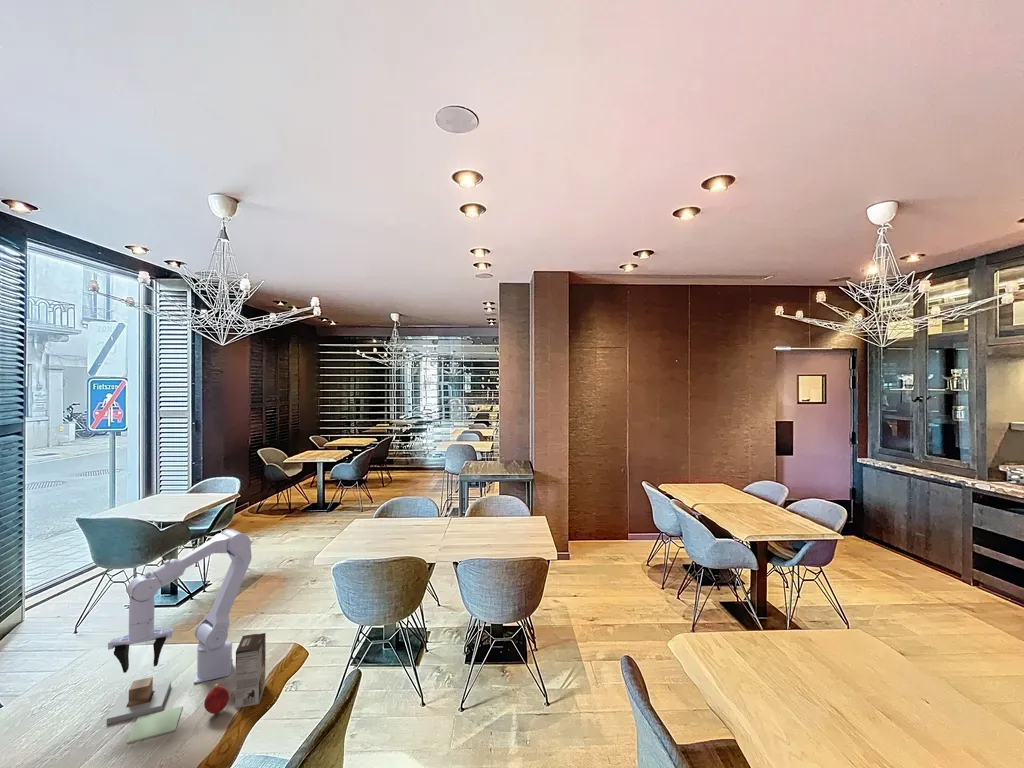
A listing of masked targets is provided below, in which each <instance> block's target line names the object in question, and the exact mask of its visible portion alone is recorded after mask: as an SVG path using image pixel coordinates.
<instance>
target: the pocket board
mask: <svg viewBox="0 0 1024 768" xmlns="http://www.w3.org/2000/svg"><path fill="white" fill-rule="evenodd" d="M171 686H172V681H166V682H162V683H157V684H153V695H152V699H151V701H150V702H148V703H143V704H139V705H135V706H131V707H128V706H129V690H127V691H121V692H120V693H119V695H118V697H117V699H116V701H115V702H114V705H113V707H112V708H111V710H110V712H109V714H108V715H107V717H106V725H110V724H113V723H118V722H122V721H126V720H131V719H134V718H138V717H141V716H145V715H149V714H153V713H157V712H161V711H163V708H164V706H165V703H166V700H167V698H168V695H169V693H170V690H171V688H172V687H171Z"/></svg>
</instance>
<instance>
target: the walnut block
mask: <svg viewBox="0 0 1024 768" xmlns="http://www.w3.org/2000/svg"><path fill="white" fill-rule="evenodd" d="M153 678H154V677H153V676H151V677H146V678H140V679H136V680H133V681H132V683H131V685H130V687H129V689H128V691H129V706H128V707H131V706H135V705H139V704H143V703H148V702H150V701H151V699H152V697H153V696H152V695H153V685H154V683H153V682H154V681H153V680H154V679H153Z"/></svg>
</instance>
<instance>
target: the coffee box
mask: <svg viewBox="0 0 1024 768" xmlns="http://www.w3.org/2000/svg"><path fill="white" fill-rule="evenodd" d="M266 642H267V640H266V632H264V633H253V634H245V635H242V636H241V639H240V642H239V644H238V646H237V648H236V650H235V682H234V683H235V687H234V688H235V689H234V690H235V694H234V696H235V699H234V700H235V701H234V705H235V706H234V708H235V709H238V708H243V707H249V706H256V705H259V704H260V702H261V700H262V697H263V695H264V694H263V693H264V690H265V686H266V653H267V652H266Z"/></svg>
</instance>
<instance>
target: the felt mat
mask: <svg viewBox="0 0 1024 768" xmlns="http://www.w3.org/2000/svg"><path fill="white" fill-rule="evenodd" d="M182 710H183V706H178V707H174V708H169V709H166V710H162V711H159V712H155V713H151V714H147V715H143V716H139V717H137V719H136V722H135V724H134V726H133V728H132V731H131V733H130V735H129V737H128V739H127V741H126V744H131V743H134V742H139V741H143V740H146V739H150V738H153V737H154V738H155V737H157V736H161V735H164V734H169V733H173V732H176V729H177V726H178V723H179V719H180V718H181V717H180V716H181V714H182Z"/></svg>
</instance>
